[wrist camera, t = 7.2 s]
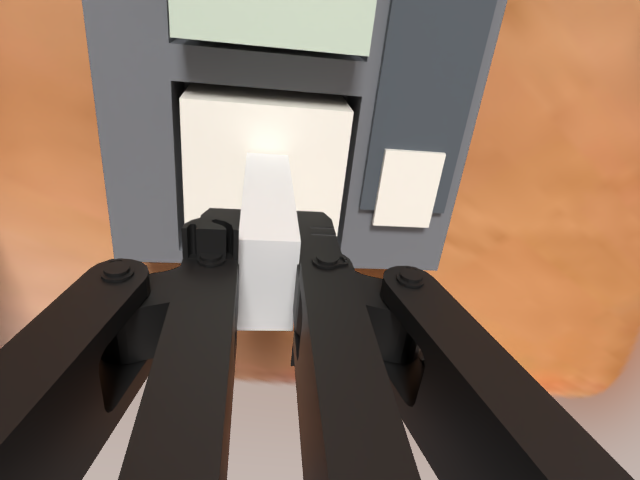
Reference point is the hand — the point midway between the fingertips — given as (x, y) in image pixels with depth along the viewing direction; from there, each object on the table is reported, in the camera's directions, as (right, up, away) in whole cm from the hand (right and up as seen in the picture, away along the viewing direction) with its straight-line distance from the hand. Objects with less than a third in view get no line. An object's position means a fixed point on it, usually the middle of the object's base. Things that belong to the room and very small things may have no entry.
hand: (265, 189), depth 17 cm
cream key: (0, +2, +3) cm, 4 cm away
